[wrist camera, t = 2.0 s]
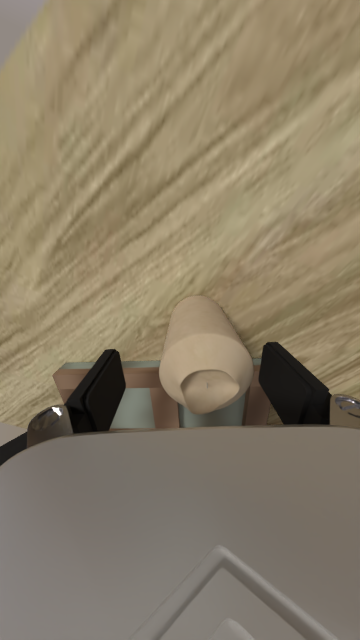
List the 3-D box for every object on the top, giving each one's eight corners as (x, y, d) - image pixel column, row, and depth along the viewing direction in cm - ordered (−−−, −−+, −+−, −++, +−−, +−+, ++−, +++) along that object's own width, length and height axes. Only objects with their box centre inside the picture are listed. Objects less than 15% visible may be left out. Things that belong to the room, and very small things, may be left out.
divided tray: (267, 358, 19) (279, 373, 17) (255, 429, 24) (263, 449, 21) (65, 362, 20) (49, 377, 18) (90, 429, 25) (80, 448, 22)
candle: (203, 351, 19) (220, 444, 10) (161, 327, 18) (136, 406, 9) (234, 312, 17) (290, 383, 8) (189, 284, 16) (193, 326, 7)
